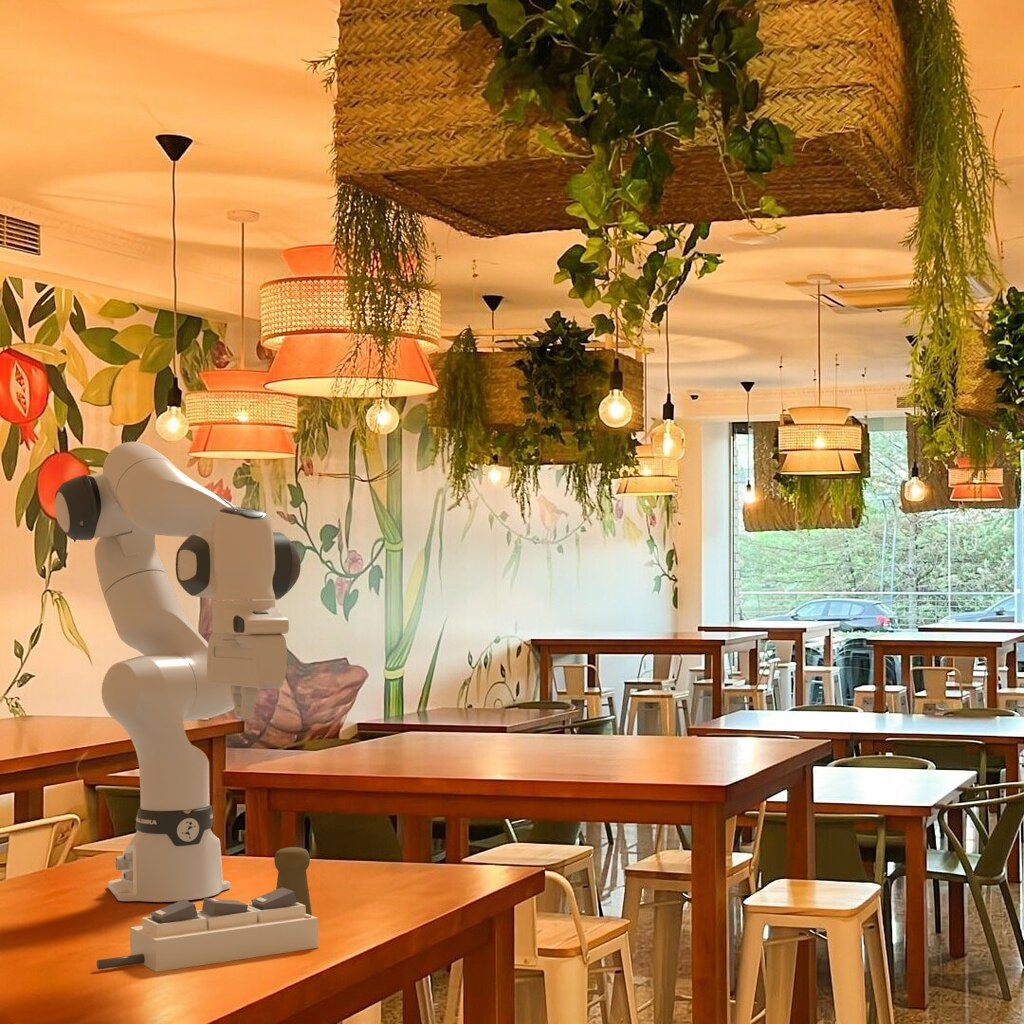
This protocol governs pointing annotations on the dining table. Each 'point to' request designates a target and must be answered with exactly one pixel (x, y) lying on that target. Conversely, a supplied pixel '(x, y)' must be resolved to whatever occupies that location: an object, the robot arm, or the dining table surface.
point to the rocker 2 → (223, 906)
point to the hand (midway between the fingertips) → (244, 718)
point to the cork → (294, 873)
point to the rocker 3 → (275, 899)
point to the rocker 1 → (175, 912)
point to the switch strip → (218, 938)
